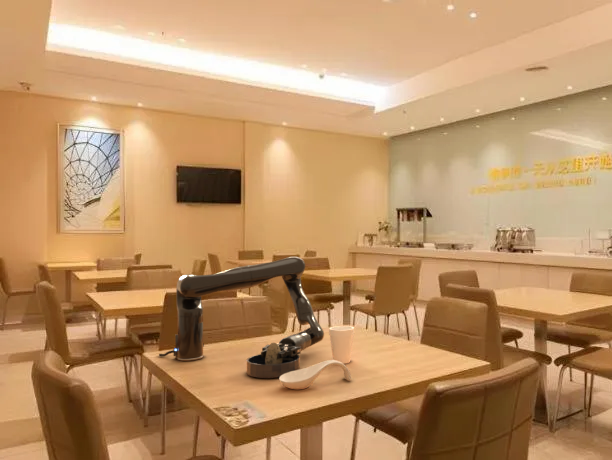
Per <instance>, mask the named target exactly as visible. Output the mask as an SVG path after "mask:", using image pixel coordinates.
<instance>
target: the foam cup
mask: <svg viewBox="0 0 612 460" xmlns="http://www.w3.org/2000/svg"><path fill="white" fill-rule="evenodd" d="M328 333H329V339H330V347H331V354H332V360H336V361H339V362H341V363H343V364H344V365H346V364H349V363H350V362H351V359H352V351H353V350H352V349H353V342H354V334H355V327H354V326H350V325H337V326H331V327H329V330H328Z"/></svg>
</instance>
